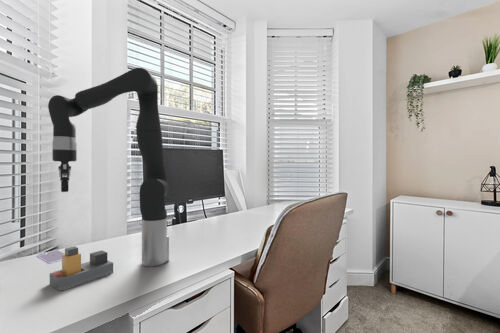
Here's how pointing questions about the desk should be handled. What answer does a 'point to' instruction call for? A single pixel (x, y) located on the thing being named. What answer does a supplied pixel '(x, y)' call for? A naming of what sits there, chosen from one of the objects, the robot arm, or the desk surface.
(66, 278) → the power strip
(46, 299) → the desk surface
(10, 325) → the desk surface
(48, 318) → the desk surface
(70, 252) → the adapter plug
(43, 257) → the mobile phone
